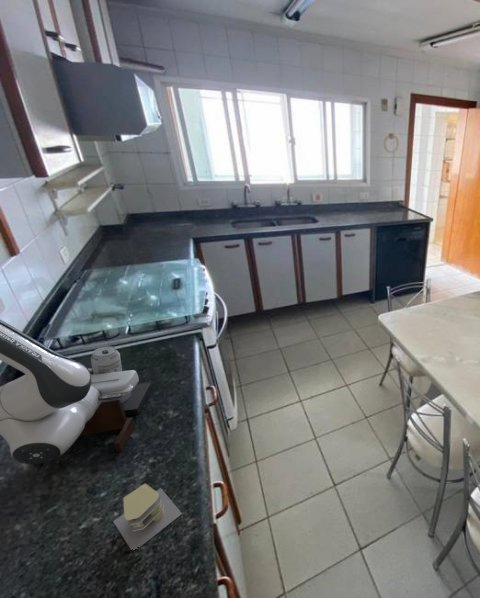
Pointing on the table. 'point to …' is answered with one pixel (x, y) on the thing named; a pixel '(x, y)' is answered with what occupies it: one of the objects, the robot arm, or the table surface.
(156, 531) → the stacked layers on plate
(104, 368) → the energy drink can
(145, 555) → the table surface
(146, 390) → the stove
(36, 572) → the table surface
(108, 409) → the brown wooden stand
